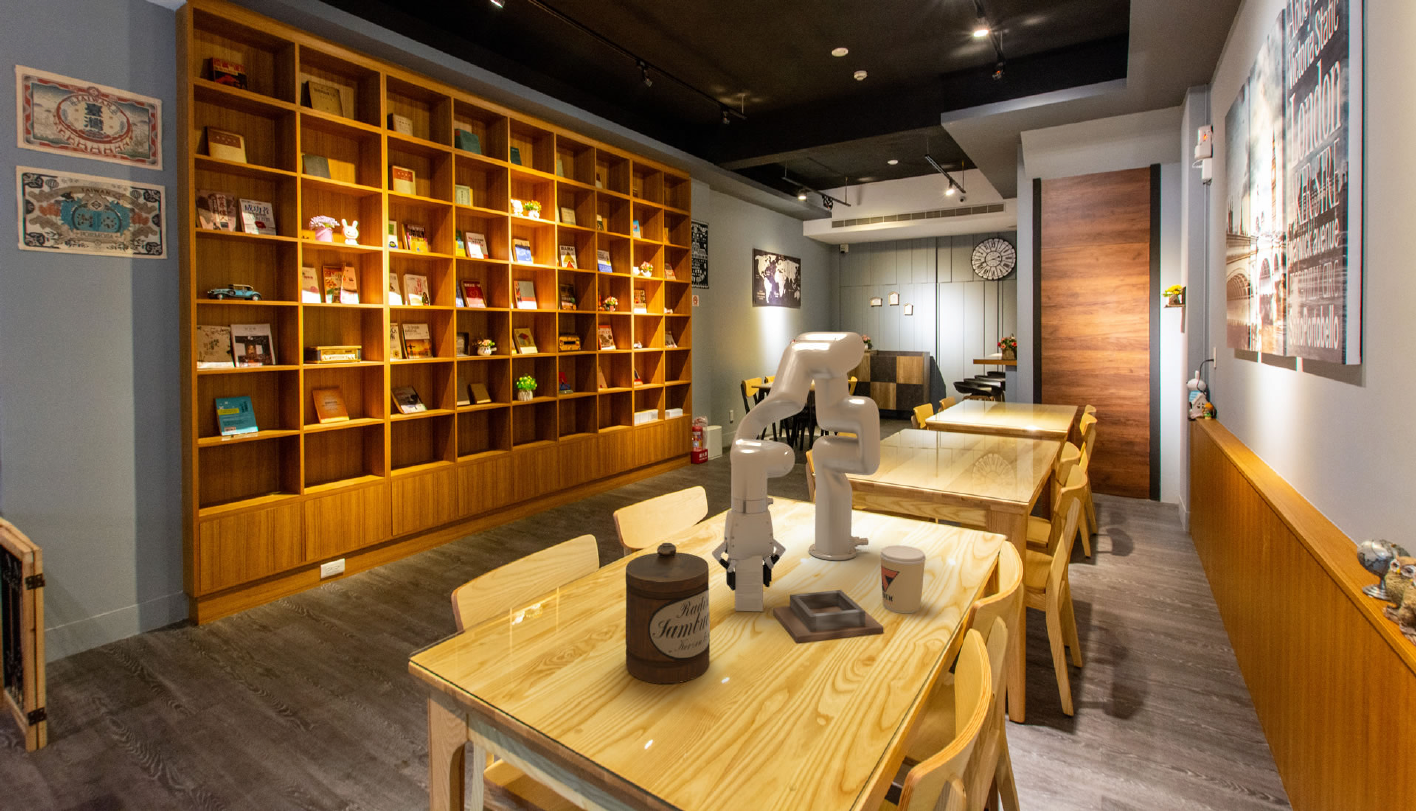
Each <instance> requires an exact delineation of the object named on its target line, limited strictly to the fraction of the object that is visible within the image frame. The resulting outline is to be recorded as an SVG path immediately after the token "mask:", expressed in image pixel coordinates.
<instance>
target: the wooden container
mask: <svg viewBox="0 0 1416 811" xmlns="http://www.w3.org/2000/svg"><path fill="white" fill-rule="evenodd" d="M709 567H710V566H709V562H708V561H707V560H706V559H704V558H703V557H700V556H698V555H695V554H691V553H686V552H678V551H677V547H676V545H675V544H673V543H671V542H662V543H661V544H660V545H658V547H657V548H656V552H653V553H647V554H643V555H640V556H637V557H635V558H633V559H631V560H630V561H628V563H627V564H626V566H625V664H626V665H625V666H626V669H627V671H628V672H629V674H631V675H632V676H633V677H635V678H636V679H638V680H641V681H643V682H646V681H647V682H648V683H650V682H651V684H657V683H673V684H678V683H677V682H680V683H682V682H681V681H685V682H687V681H686V680H688V681H691V680H693V679H692V678H694V679H696V678H697V676H698V677H699V675H700V676H701V675H702V674H704V673H705V671H706V670H707V669H708V668H709V666H710V652H711V651H710V650H711V649H710V644H711V643H710V641H711V638H710V635H711V630H710V629H711V624H710V623H711V621H710V616H711V614H710V586H709V585H710V584H709V581H710V580H709V579H710V570H709V569H710V568H709ZM703 672H704V673H703ZM695 677H696V678H695ZM690 679H691V680H690ZM647 682H646V683H647Z"/></svg>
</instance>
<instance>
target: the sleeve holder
mask: <svg viewBox="0 0 1416 811" xmlns="http://www.w3.org/2000/svg"><path fill="white" fill-rule="evenodd" d="M772 614H773V616H774V617H775V618H776V619H777V621H778V622H779V623H780V624H781V626H783V628H784V629H785V630H786V632H787V633H788V634H789V635H790V637H791V638H792V639H793V641H794V642H795V643H796V644H798V643H806V642H807V643H808V642H816V641H824V640H825V641H826V640H831V639H832V640H833V639H840V638H842V639H843V638H849V637H850V638H851V637H860V636H859V635H861V636H867V635H869V636H870V635H876V633H878V634H884V630H885V629H884V628H885V627H884V626H883V625H882V624H881V623H880V622H879V621H877V620H876V618H874V617H873V616H872V615H871V614H870V613H868V612H867V611H866V610H865V609H863V608H862V607H861V605H859V604H858V603H857V602H855V601H854V600H853V599H852V598H851V597H850V596H849V595H847V594H846V593H845V592H844V591H843V590H842V589H837V590H835V589H834V590H828V591H816V592H815V591H814V592H806V593H805V592H804V593H795V594H789V605H787V606H778V607H773V608H772Z"/></svg>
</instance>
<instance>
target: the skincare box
mask: <svg viewBox="0 0 1416 811" xmlns="http://www.w3.org/2000/svg"><path fill="white" fill-rule="evenodd" d="M763 565H764V561H763V556H755V557H751V558H749V559H744V560H738V561H737V563H736V565H735V567H734V572H735V573H736V589H735V590H734V610H735V611H737V612H764V584H763Z"/></svg>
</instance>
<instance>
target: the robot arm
mask: <svg viewBox="0 0 1416 811" xmlns="http://www.w3.org/2000/svg"><path fill="white" fill-rule="evenodd" d="M865 347H866V346H865V343H864V340H863V338H862V336H861V335H860V334H858V333H857V332H854V331H853V332H852V331H809V332H804V333H801V334H799V335H797V336H796V338H795V340H794V342H791V343H790V344H788V345H787V346H786V348H785V349H784V350H783V352H782V354H781V355H782V356H781V358H780V362H779V364H778V366H777V370H776V373H775V375H774V377H773V378H774V379H773V382H772V385H771V387H770V390H769V393H768V394H767V396H766V397H765V398H764V399H762V400H761V401H760V402H759V403H757V404H756V405H755V406H753V408H751V410H750V411H749V412H747V414H745V416H744V417H743V418H742V419H741V421H740V423H739V424H738V425H737V426H738V427H737V429H736V432H735V435H734V438H733V440H732V443H731V448H730V454H729V460H730V463H731V465H730V468H731V469H730V470H731V471H730V472H731V473H730V474H731V476H730V477H731V478H730V480H731V481H730V482H731V484H730V486H731V487H730V488H731V494H730V495H731V498H730V502H731V503H730V504H731V506H730V509H728V510H727V511H726V515H725V524H724V531H723V532H724V533H723V542H722V543H720V544H719V545H718V546H717V547H716V548H715V549H714V550H713V551H712V552H711V555H712V557H713V558H714V559H715V560H716V561H717V562H718V564H719V565H720V566H721V567H723V568H724V569H725V573H726V574H725V576H726V578H725V579H726V582H725V583H726V585H727V587H729V588H730V590H731V591H733V592H735V589H736V573H735V565H736V563H737V561H738V560H744V559H749V558H751V557H755V556H763V586H765V587H766V588H770V586H771V584H770V583H771V582H772V580H773V579H772V578H773V577H772V576H773V574H772V569H774V567H775V565H776V564H777V563H778V561H779V560H780V558H781V557H782V556H783V555H784V554H785V553H786V550H787V549H786V547H785V546H783V545H782V544H781V543H780V542H778V541H777V540H776V539H775V538H774V537H775V536H774V527H773V522H772V515H771V511H770V509H769V506H770V505H774V501H775V500H774V498H773V497H768V479H769V478H781V477H784V476H786V475H787V474H789V473H790V472H791V471H792V470H793V468H794V466H795V462H796V455H795V452H794V449H793V448H792V446H790V445H789V444H786V443H784V442H780V441H771V440H764V439H757V438H758V436H759V434H760V433H761V432H763V430H764V429H766V428H767V427H768V426H770V425H771V424H774V423H777V422H778V421H781V420H784V419H787V418H789V417H792V416H795V415H797V414H798V413H800V412H802V411H803V409H804V407H805V406H806V403H807V398H808V395H809V393H810V389H811V387H812V383H813V382H814V383H813V384H814V398H815V416H816V423H817V426H818V427H819V428H820V429H821V430H823V431H826V432H827V431H828V432H833V433H844V434H854V435H855V437H854V436H847V435H835V434H827V435H822V436H820V437H818V438H816V440H815V441H814V443H813V445H812V449H811V450H812V451H811V457H812V463H813V468H814V477H815V478H814V480H815V496H814V497H815V498H814V499H815V504H814V506H815V507H814V512H815V513H814V514H815V515H814V543H812V544H811V545H810V546H809V547H808V552H809V554H810V555H811V556H813V557H815V558H818V559H821V560H826V561H827V560H828V561H845V560H846V561H847V560H850V559H851V560H852V559H853V558H855V557H856V556H857V555H858V549H857V547H858V546H868V545H869V542H870V541H869V539H868V538H867V537H861V538H860V536H853V535H852V527H853V526H852V523H853V522H852V518H853V516H852V515H853V514H852V513H853V509H852V508H853V506H852V505H853V488H852V484H851V482H850V480H849V478H848V477H847V475H846V474H848V475H856V476H872V475H874V474H875V473H877V471H878V470H879V468H880V463H881V430H880V428H881V427H880V424H881V423H880V412H879V407H878V405H877V403H876V401H875V400H874V399H872V398H870V397H869V396H862V395H860V396H859V395H851V394H850V392H849V377H848V373H849V372H850V371H852V370H854V369H855V368H857V367H858V366H859V365H860V364H861V362H862V361H863V358H864V355H865ZM774 549H776V550H775V551H774ZM723 553H725V554H727V555H728V556H727V559H726V560H725V558H724V557H723V556H722V554H723Z"/></svg>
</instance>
